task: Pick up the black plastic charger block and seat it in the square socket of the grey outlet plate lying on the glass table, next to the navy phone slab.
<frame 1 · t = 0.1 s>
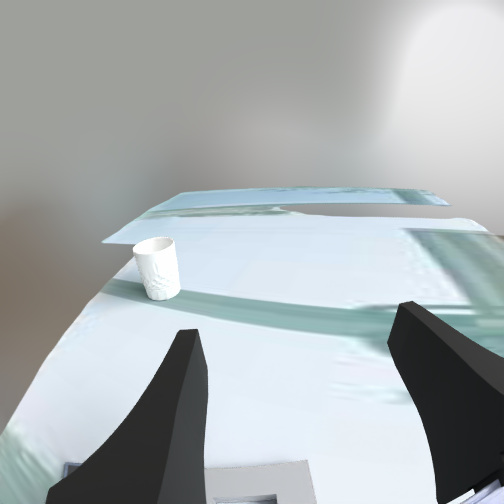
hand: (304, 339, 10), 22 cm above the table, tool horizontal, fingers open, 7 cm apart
white cup: (164, 292, 55), on the table
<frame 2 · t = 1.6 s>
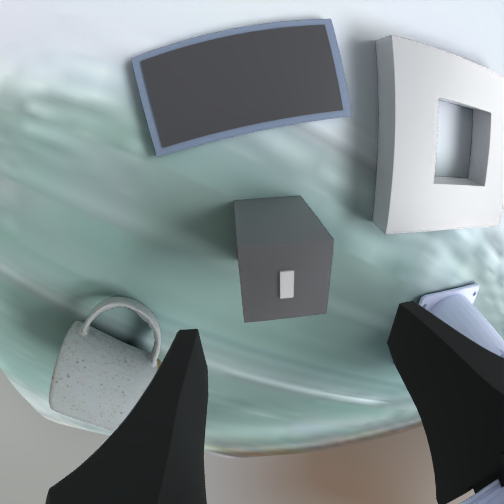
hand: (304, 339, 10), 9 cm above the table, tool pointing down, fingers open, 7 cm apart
charger: (268, 228, 18), on the table
ceramic mug: (117, 337, 22), on the table
outlet plate: (447, 139, 16), on the table
phone: (242, 80, 14), on the table
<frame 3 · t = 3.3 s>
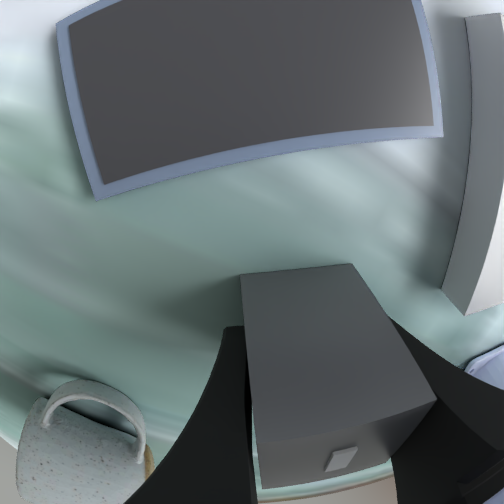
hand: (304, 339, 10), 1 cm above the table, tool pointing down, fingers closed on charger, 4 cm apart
charger: (296, 313, 11), on the table, touching gripper
ceramic mug: (92, 414, 14), on the table
phone: (257, 55, 7), on the table
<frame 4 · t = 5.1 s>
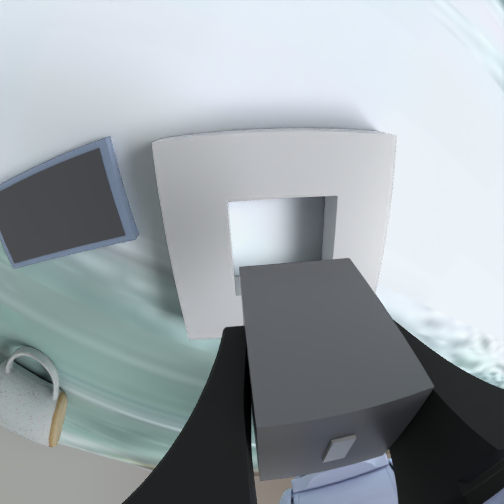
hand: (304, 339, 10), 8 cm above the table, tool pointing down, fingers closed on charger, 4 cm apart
charger: (294, 307, 11), point 7 cm above the table, touching gripper
ceramic mug: (37, 372, 23), on the table
outlet plate: (278, 232, 17), on the table
phone: (55, 206, 15), on the table
when the fingers open (3 cm above the table, at t = 7.0 s): charger drops 1 cm, resting in outlet plate.
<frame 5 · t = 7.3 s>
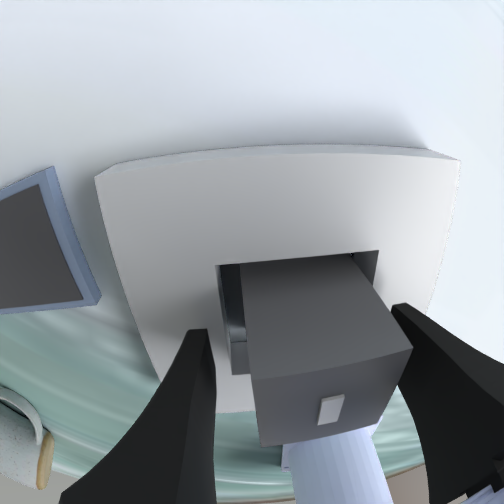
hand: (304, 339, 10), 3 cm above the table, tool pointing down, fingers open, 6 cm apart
charger: (290, 287, 12), resting in outlet plate
ceramic mug: (20, 410, 18), on the table
outlet plate: (289, 291, 12), on the table
phone: (4, 251, 11), on the table
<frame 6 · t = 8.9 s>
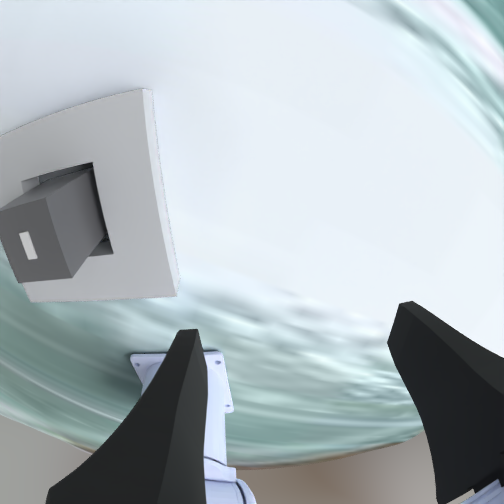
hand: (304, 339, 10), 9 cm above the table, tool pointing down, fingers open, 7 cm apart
charger: (78, 202, 16), resting in outlet plate
outlet plate: (77, 205, 16), on the table
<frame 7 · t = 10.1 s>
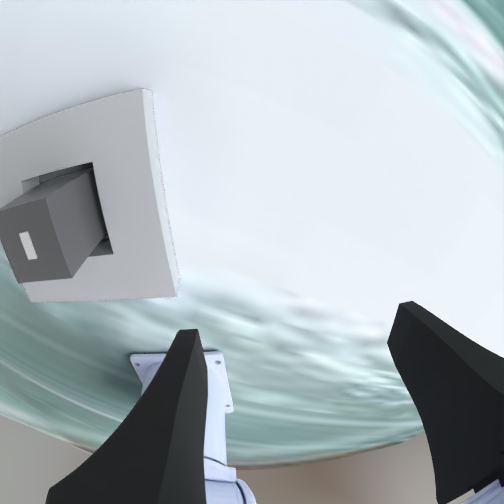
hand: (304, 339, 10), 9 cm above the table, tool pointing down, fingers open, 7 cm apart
charger: (78, 202, 16), resting in outlet plate
outlet plate: (77, 205, 16), on the table
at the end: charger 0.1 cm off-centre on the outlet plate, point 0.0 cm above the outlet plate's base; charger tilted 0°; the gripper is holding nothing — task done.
